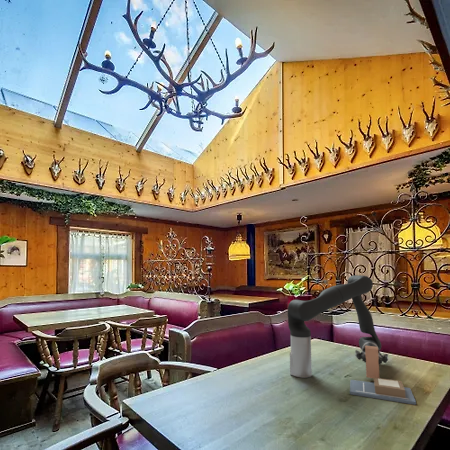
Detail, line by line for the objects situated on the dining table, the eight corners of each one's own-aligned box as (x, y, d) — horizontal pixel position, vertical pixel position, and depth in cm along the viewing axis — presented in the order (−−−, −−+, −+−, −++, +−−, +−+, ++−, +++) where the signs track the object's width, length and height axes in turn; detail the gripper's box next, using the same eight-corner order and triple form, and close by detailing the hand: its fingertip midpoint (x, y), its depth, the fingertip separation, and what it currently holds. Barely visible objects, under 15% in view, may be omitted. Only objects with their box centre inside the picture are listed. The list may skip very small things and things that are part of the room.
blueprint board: (349, 394, 118) (349, 383, 118) (350, 381, 131) (350, 372, 131) (416, 404, 109) (415, 392, 110) (410, 390, 122) (409, 380, 122)
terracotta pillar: (366, 377, 130) (365, 348, 132) (366, 373, 135) (365, 345, 137) (379, 379, 128) (378, 349, 130) (378, 375, 133) (377, 346, 135)
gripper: (354, 341, 149) (353, 349, 134) (387, 344, 143) (390, 353, 128) (354, 357, 148) (354, 367, 133) (388, 361, 142) (391, 372, 127)
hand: (372, 360), depth 130 cm, fingers closed on terracotta pillar, 5 cm apart
